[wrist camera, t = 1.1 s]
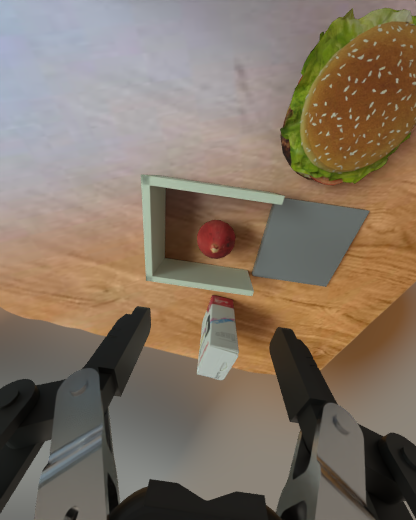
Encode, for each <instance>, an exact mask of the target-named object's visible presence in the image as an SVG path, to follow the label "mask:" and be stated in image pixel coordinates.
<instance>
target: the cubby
mask: <svg viewBox="0 0 416 520" xmlns="http://www.w3.org/2000/svg"><path fill="white" fill-rule="evenodd" d="M141 187H142V207H143V227H144V246H145V266H146V281H153V282H159V283H166V284H173V285H180V286H187V287H193V288H200V289H207V290H214V291H221V292H228V293H234V294H241V295H248V296H252V295H253V292H254V290H253V287H252V284H251V280H250V277H249V274H248V271H247V270H243V269H236V268H230V267H223V266H216V265H209V264H203V263H196V262H189V261H182V260H175V259H169V258H165V203H166V188H171V189H178V190H185V191H192V192H198V193H205V194H212V195H218V196H225V197H232V198H239V199H245V200H252V201H259V202H265V203H272V204H279V205H282V203H283V200H284V197H285V196H283V195H279V194H275V193H272V192H267V191H260V190H253V189H246V188H240V187H233V186H226V185H220V184H213V183H206V182H199V181H193V180H186V179H179V178H173V177H166V176H159V175H141Z"/></svg>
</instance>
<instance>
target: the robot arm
mask: <svg viewBox="0 0 416 520" xmlns="http://www.w3.org/2000/svg"><path fill="white" fill-rule="evenodd" d="M150 328H151V315H150V308H146V307H139V306H137V307H136V308H135V309H134V311H133V313H132V314H131V315H130V314H125V315H124V316H123V317H121V318H120V319H119V320H118V321H117V322H116V323H115V325H114V326H113V328H112V330H110V332H109V333H108V335H107V337H105V339H104V340H103V342H102V343H101V344H100V346H99V347H98V349H97V350H96V351H95V353H94V354H93V356H92V357H91V358H90V360H89V361H88V362H87V364H86V365H85V366H84V367H83V368H82V369H81V370H79V371H76V372H75V373H73V374H72V375H70V376H69V377H68V378H67V379H64V380H61V381H56V382H51V383H46V384H42V385H35V384H34V382H33V381H31V380H29V379H22V380H17V381H15V382H12V383H10V384H8V385H6V386H4V387H2V388H1V389H0V513H1V512H2V510H3V508H4V507H5V505H6V503H7V502H8V500H9V499H10V497H11V495H12V493H13V492H14V490H15V489H16V487H17V486H18V484H19V482H20V481H21V479H22V478H23V476H24V474H25V472H26V470H27V469H28V468H29V466H30V465H31V463H32V461H33V460H34V458H35V457H36V455H37V453H38V452H39V450H40V448H41V446H42V445H43V443H44V442H45V441H47V440H51V448H50V456H49V461H48V464H47V465H46V466H45V468H44V469H43V471H42V474H41V478H40V481H39V487H38V494H37V501H36V509H35V517H34V520H413V518H412V517H411V515H410V513H409V511H408V509H407V507H406V505H405V504H404V502H403V501H406V502H407V503H408V505H409V507H410V509H411V511H412V513H413V514H414V516H415V518H416V446H415V445H414V444H413V443H411V442H410V441H409V440H407V439H406V438H405V437H403V436H401V435H399V434H396V433H389V434H387V435H386V436H384V437H383V436H381V435H379V434H377V433H375V432H373V431H371V430H369V429H367V428H365V427H363V426H361V425H359V424H358V423H357V422H356V421H355V419H354V418H353V417H352V416H351V414H350V413H349V412H347V411H346V410H345V409H344V408H342V407H341V406H339V405H338V404H337V402H336V401H335V399H334V397H333V395H332V393H331V391H330V389H329V387H328V385H327V384H326V382H325V380H324V378H323V376H322V374H321V372H320V370H319V368H317V364H316V362H315V361H314V360H313V357H312V355H311V353H310V351H309V349H308V348H307V346H306V345H305V344H304V343H303V342H302V341H301V340H299V339H297V338H296V336H295V334H294V332H293V330H292V329H287V328H281V327H278V328H277V329H276V331H275V334H274V336H273V338H272V340H271V342H270V355H271V358H272V362H273V365H274V369H275V372H276V375H277V379H278V382H279V385H280V389H281V393H282V396H283V400H284V403H285V407H286V410H287V413H288V417H289V420H290V422H295V423H299V426H300V429H301V430H300V432H299V435H298V439H297V444H296V448H295V452H294V456H293V460H292V464H291V468H290V473H289V477H288V480H287V482H286V485H285V487H284V488H283V490H282V493H281V496H280V498H279V502H278V506H277V510H276V513H275V512H274V511H273V510H272V509H271V508H269V507H268V506H267V505H266V503H265V497H264V495H258V494H250V493H243V492H233V493H230V494H227V495H224V496H221V497H218V498H215V499H212V500H209V501H206V500H203V499H202V498H200V497H198V496H197V495H196V494H194V493H192V492H191V491H189V490H188V489H186V488H185V487H183V486H181V485H180V484H178V483H172V482H165V481H159V480H151V479H150V480H149V484H148V487H145V488H142V489H140V490H138V491H136V492H134V493H133V494H131V495H130V496H128V497H127V498H126V499H125V500H123V501H122V502H121V503H120V497H119V488H118V479H117V472H116V465H115V460H114V453H113V445H112V435H111V426H110V416H109V408H108V407H109V404H110V402H111V400H112V398H113V396H120V397H121V395H122V393H123V391H124V388H125V386H126V384H127V382H128V380H129V377H130V375H131V373H132V371H133V368H134V366H135V364H136V362H137V360H138V357H139V355H140V353H141V351H142V348H143V346H144V344H145V342H146V340H147V337H148V335H149V332H150Z"/></svg>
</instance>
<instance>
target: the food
mask: <svg viewBox="0 0 416 520" xmlns="http://www.w3.org/2000/svg"><path fill="white" fill-rule="evenodd" d="M301 74H302V75H303V76H302V77H301V79H300V81H299V83H298V85H297V87H296V88H295V91H294V94H293V97H292V101H291V104H290V106H289V109H288V111H287V114H286V118H285V121H284V125H283V128H281V129H280V130H281V142H282V150H283V154H284V156H285V158H286V160H287V162H288V163H289V165H290V166H291V168H292V169H293V170H294V171H295V172H296V173H297V174H299V175H301V176H303V177H305V178H307V179H311V180H315V181H317V182H320V183H322V184H326V185H336V184H339V183H342V182H349V183H352V182H353V183H354V184H355V183H356V182H358V181H359V180H361V179H362V178H363V177H365V176H366V175H367V174H368V173H370V172H372V171H375V170H377V169H379V168H381V167H382V166H383V165H385V164H386V162H387V160H388V158H387V157H388V156H390V155H391V154H392V153H394V152H395V151H396V150H397V148H398V147H399V145H400V144H401V143H402V142H404V141H405V140H407V139H408V138H410V134H411V130H412V129H413V127H414V126H415V124H416V16H411V12H410V11H408V10H404V9H403V10H401V11H396V10H393V9H390V8H383V9H379V10H375V11H372V12H370V13H369V14H367V15H366V16H364V17H362V18H360V19H355V18H354V15H353V8H352V9H351V10H350V11H349V12H348V13H347V14H346V15H345V16H344V17H339V18H337V19H336V20H335V21H333V22H332V23H331V25H330V26H329V28H328V30H327V31H326V32H325V34H324V32H322V33H321V34H320V41H319V42H318V44H317V45H316V46H315V48H314V49H313V50H312V51H311V53H310V54H309V56H308V58H307V59H306V61H305V63H304V66H303V69H302V72H301Z"/></svg>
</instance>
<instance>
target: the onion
mask: <svg viewBox="0 0 416 520" xmlns="http://www.w3.org/2000/svg"><path fill="white" fill-rule="evenodd" d="M235 238H236V237H235V234H234V231H233V229H232V228H231V227H230V226H229V224H228V223H225V222H223V221H221V220H212V221H209V222H206V223H205V224H204V225H203V226H202V227H201V228H200V230H199V232H198V234H197V243H198V246H199V249H200V250H201V251H202V253H203V254H204V255H206V256H208V257H210V258H215V259H218V258H222V257H225V256H226V255H228V254H229V253H230V252H231V250H232V249H233V247H234V245H235Z"/></svg>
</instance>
